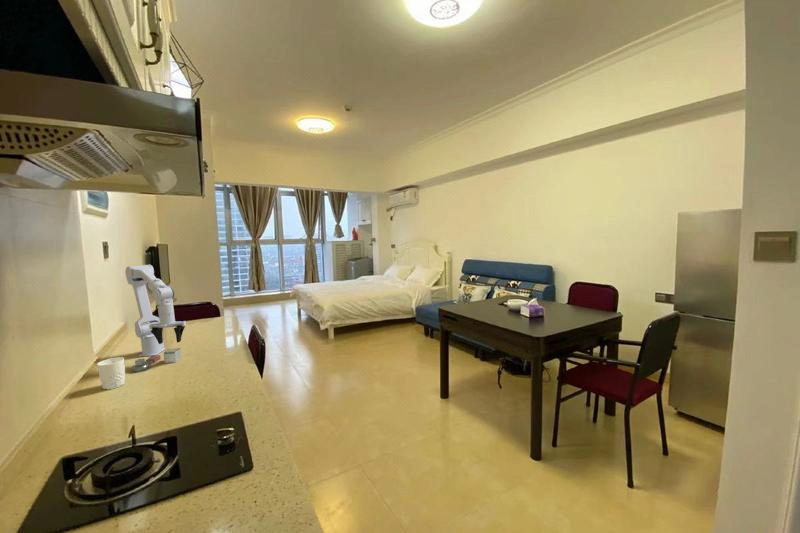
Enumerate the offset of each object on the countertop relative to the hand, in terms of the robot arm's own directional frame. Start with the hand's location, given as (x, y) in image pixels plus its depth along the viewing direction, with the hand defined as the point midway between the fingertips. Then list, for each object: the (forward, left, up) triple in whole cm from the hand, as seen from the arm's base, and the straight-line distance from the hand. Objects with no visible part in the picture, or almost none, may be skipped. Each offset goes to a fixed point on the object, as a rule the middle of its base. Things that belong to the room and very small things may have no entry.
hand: (170, 342), depth 150 cm
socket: (-1, 0, -9) cm, 9 cm away
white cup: (+22, -10, -9) cm, 26 cm away
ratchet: (+3, -9, -9) cm, 13 cm away
